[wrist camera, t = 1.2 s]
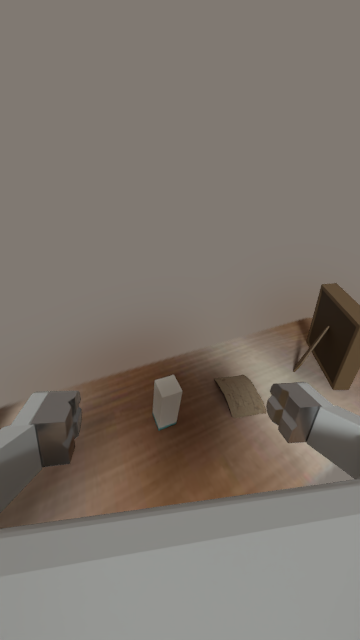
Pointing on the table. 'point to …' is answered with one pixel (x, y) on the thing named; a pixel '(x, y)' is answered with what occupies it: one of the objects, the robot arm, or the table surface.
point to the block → (166, 401)
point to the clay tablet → (241, 396)
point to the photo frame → (335, 336)
